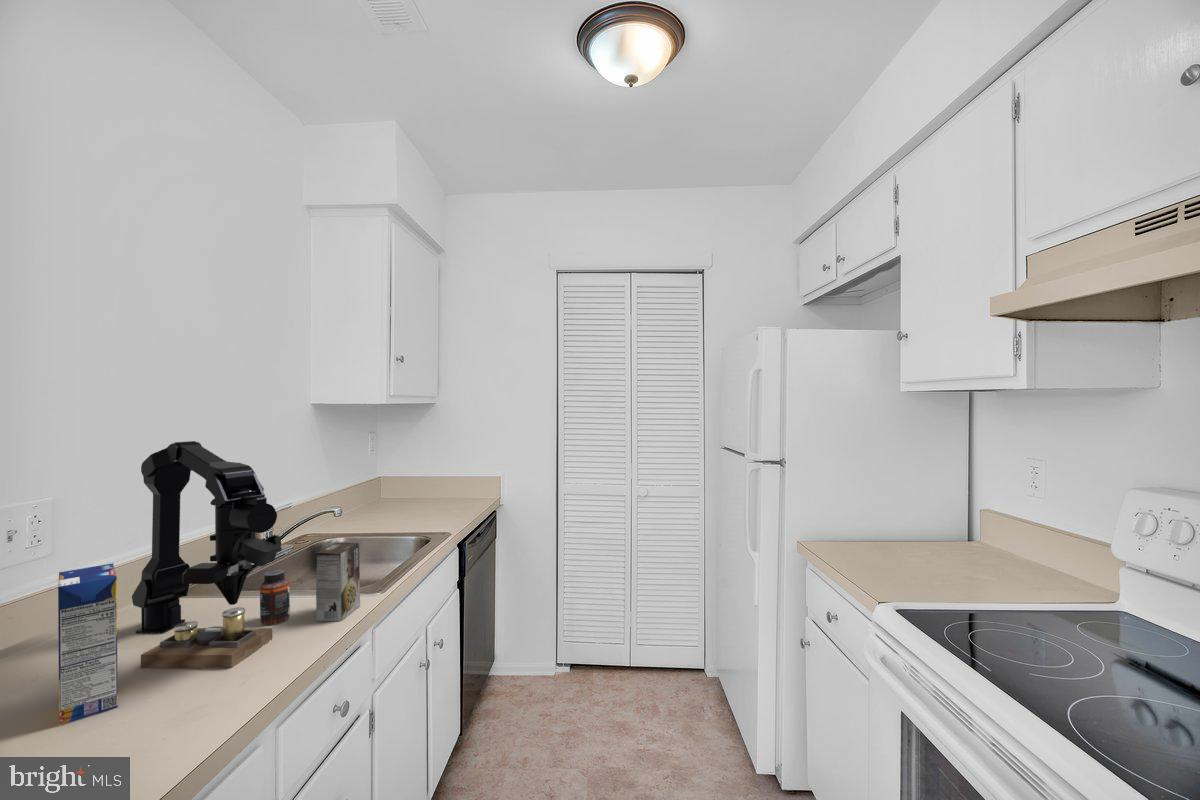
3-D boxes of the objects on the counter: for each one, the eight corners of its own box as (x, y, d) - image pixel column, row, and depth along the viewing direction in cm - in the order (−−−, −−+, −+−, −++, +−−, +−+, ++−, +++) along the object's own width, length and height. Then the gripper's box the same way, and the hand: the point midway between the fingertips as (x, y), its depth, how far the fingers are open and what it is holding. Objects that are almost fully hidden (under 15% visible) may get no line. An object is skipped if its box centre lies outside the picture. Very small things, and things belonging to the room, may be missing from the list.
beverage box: (59, 726, 83) (58, 587, 83) (59, 699, 91) (59, 572, 91) (117, 707, 88) (116, 576, 88) (113, 683, 95) (112, 563, 96)
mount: (140, 667, 101) (140, 649, 101) (190, 639, 113) (190, 623, 113) (231, 667, 101) (231, 649, 101) (272, 639, 113) (272, 623, 113)
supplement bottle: (295, 615, 126) (295, 568, 126) (278, 626, 120) (277, 576, 120) (272, 615, 126) (272, 568, 126) (253, 625, 120) (253, 576, 120)
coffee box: (335, 606, 131) (335, 541, 131) (361, 606, 131) (360, 541, 131) (314, 621, 122) (314, 552, 122) (341, 621, 122) (341, 552, 122)
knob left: (169, 656, 105) (169, 628, 105) (184, 647, 109) (184, 621, 109) (187, 656, 105) (187, 628, 105) (202, 647, 109) (202, 621, 109)
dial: (190, 644, 105) (190, 633, 105) (207, 634, 109) (207, 624, 109) (213, 644, 105) (213, 633, 105) (229, 634, 109) (229, 624, 109)
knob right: (217, 642, 105) (217, 614, 105) (231, 634, 109) (231, 607, 109) (236, 642, 105) (236, 614, 105) (249, 634, 109) (249, 607, 109)
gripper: (238, 539, 97) (239, 623, 97) (298, 517, 116) (299, 587, 116) (179, 539, 98) (180, 623, 98) (249, 517, 116) (250, 588, 116)
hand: (233, 604), depth 107 cm, fingers closed
